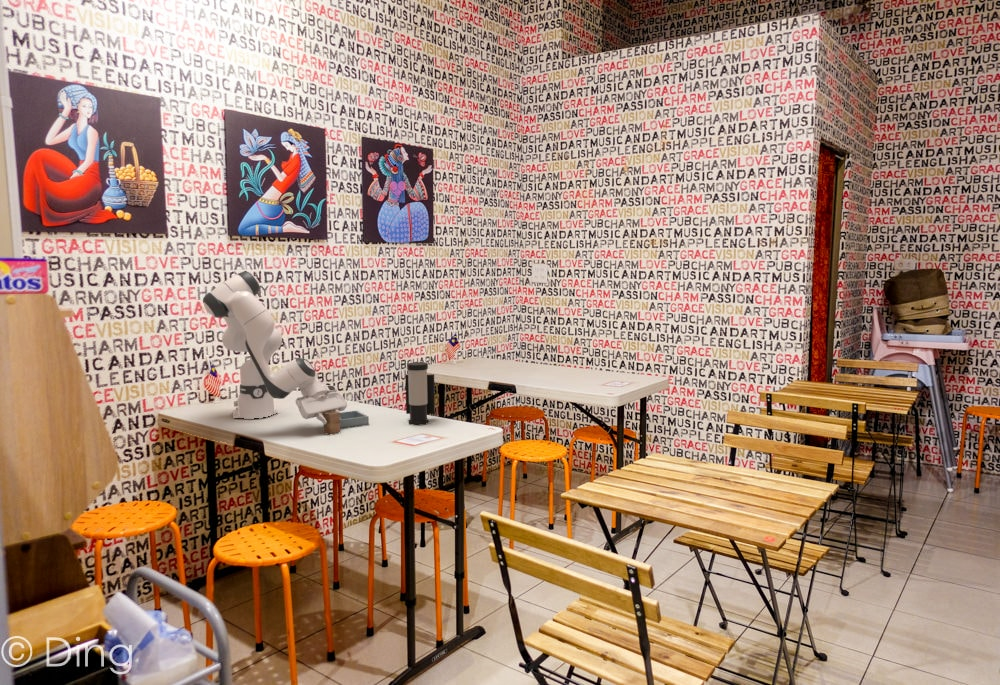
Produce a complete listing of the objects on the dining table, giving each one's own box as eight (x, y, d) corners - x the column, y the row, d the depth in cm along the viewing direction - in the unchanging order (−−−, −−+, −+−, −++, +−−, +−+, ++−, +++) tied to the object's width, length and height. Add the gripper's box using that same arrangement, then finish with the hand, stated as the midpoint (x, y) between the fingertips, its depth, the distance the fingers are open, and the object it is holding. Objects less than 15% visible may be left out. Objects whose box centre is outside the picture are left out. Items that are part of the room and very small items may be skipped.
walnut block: (323, 433, 268) (322, 412, 267) (332, 430, 272) (332, 410, 271) (331, 434, 265) (330, 414, 264) (340, 432, 269) (339, 412, 268)
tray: (325, 422, 285) (325, 414, 285) (356, 418, 292) (356, 410, 292) (336, 429, 274) (336, 420, 273) (368, 424, 281) (368, 416, 280)
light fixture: (402, 425, 280) (400, 365, 277) (406, 419, 291) (405, 361, 288) (431, 425, 279) (430, 365, 276) (435, 419, 290) (434, 361, 287)
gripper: (296, 393, 262) (314, 422, 258) (339, 385, 279) (356, 412, 274) (290, 403, 266) (307, 432, 261) (332, 395, 282) (349, 421, 277)
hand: (332, 421), depth 268 cm, fingers closed on walnut block, 4 cm apart
